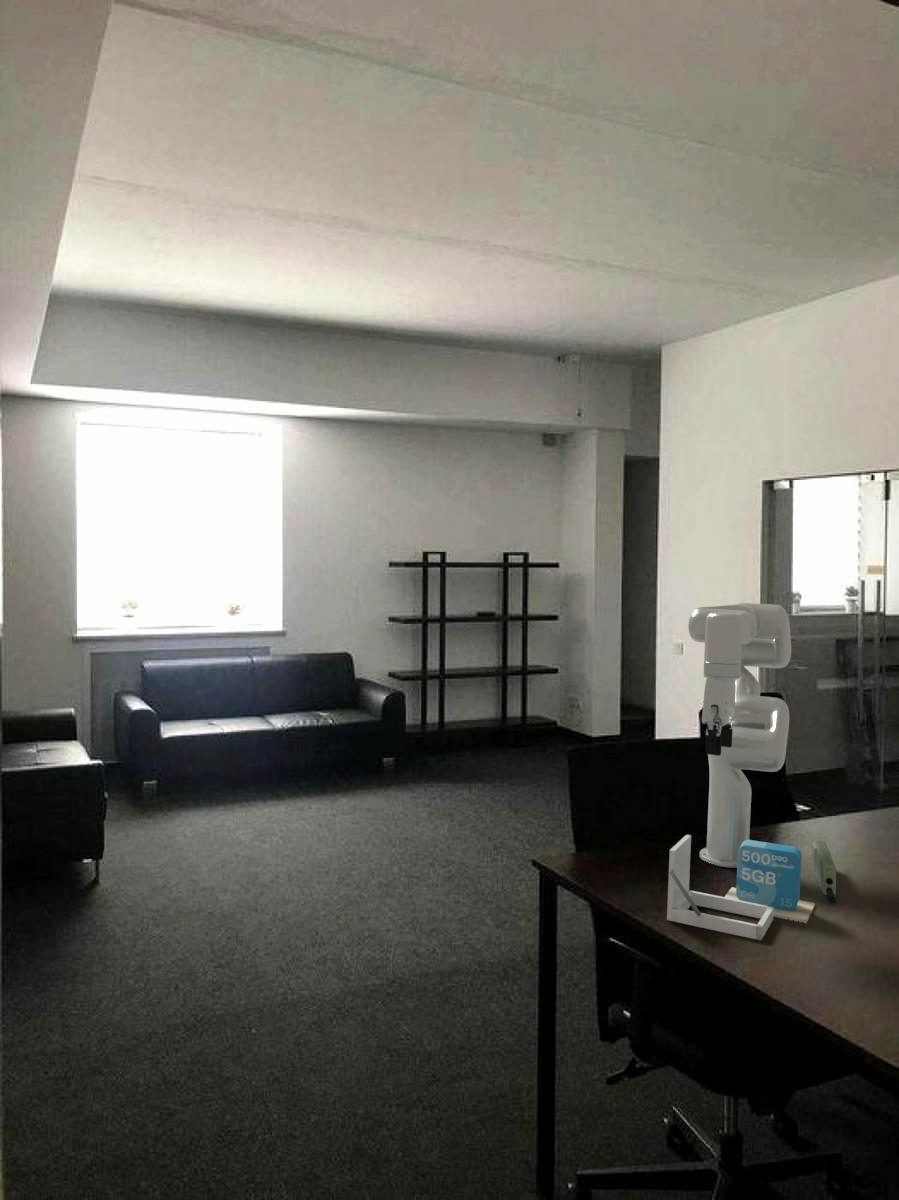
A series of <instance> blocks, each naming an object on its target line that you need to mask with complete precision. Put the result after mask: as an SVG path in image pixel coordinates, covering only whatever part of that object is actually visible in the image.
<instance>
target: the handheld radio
mask: <svg viewBox="0 0 899 1200" xmlns="http://www.w3.org/2000/svg"><path fill="white" fill-rule="evenodd" d="M811 846H812V848H811V849H812V851H811V852H812V855H811V856H812V857H811V858H812V859H811V864H812V867H813V870H814V872H815V874H816V873H817V874H816V876H818V877H817V879H819V880H818V882H820V883H819V885H820V888H821V892H822V894H823V895H825V894H827V895H826V896H827V897H828V900H829V902H830V903H835V902H836V893H837V867H836V865H835V862H834V860H833V858H832V854H831V852H830V850H829V848H828V846H827V843H826V841H825V840H824V839H814V841H813V843H812V844H811Z"/></svg>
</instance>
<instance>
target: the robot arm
mask: <svg viewBox="0 0 899 1200" xmlns="http://www.w3.org/2000/svg"><path fill="white" fill-rule="evenodd" d="M687 628H688V633H689V636H690V638H691V639H692V640H693V641H694V642H695V643H696V642H697V643H704V653H703V658H704V659H703V677H704V678H706V680H705V685H704V691H703V692H704V693H703V703H702V715H701V722H702V724H704V725H706V727H705V728H706V731H705V741H704V742H705V744H704V745H705V747H704V753H705V755H707V757H708V766H709V767H708V768H709V769H708V770H709V773H708V774H709V780H708V781H709V787H708V788H709V791H708V806H707V807H708V809H707V828H706V829H707V833H706V847H704V848H702V849H700V851H699V858H700V859H701V860H702V861H704V862H705V861H706V862H705V863H707V862H708V864H710V863H711V864H710V865H713V864H714V866H717V867H721V868H722V867H724V868H730V869H737V863H738V849H739V848H740V846H741V844H742V843H743V842H744V841H745V840H750V833H751V832H750V826H751V809H752V808H751V807H752V806H751V803H752V786H751V784H750V782H749V780H748V778H747V777H746V775H745V774H744V772H743V771H742V770H750V771H758V772H759V771H760V772H769V773H770V772H771V773H774V772H775V773H776V772H778V771H779V770H781V769H782V767H783V766H784V763H785V759H786V755H787V754H786V753H787V746H788V737H789V736H788V735H789V727H790V711H789V706H788V704H787V703H786V702H785V700H783V699H781V698H780V697H774V696H773V697H772V696H765V695H764V696H763V695H761V690H762V689H761V685H760V682H759V681H758V680H757V678H756V676H755V675H754V674H752V672H751V671H750V670H748V669H747V668H746V667H752V668H766V669H768V668H769V669H782V668H785V667H787V666H788V664H789V663H790V661H791V657H792V639H791V625H790V619H789V616H788V613H787V610H786V609H785V608H784V607H783V606H782V605H780V604H774V603H773V604H772V603H770V604H769V603H751V602H741V603H736V604H726V605H718V606H701V607H696V608H694V610H693V611H692V612H691V614H690V616H689V620H688V627H687Z"/></svg>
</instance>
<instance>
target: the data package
mask: <svg viewBox="0 0 899 1200" xmlns="http://www.w3.org/2000/svg"><path fill="white" fill-rule="evenodd" d="M801 868H802V852H801V850H800V849H799V848H798V847H797V846H791V845H785V844H779V843H773V842H772V843H771V842H766V841H758V840H754V839H753V840H752V839H749V840H745V841H744V842H743V843H742V844H741V846H740V848H739V849H738V863H737V868H736V887H735V888H736V895H737V898H738V899H739V900H741V901H746V902H751V903H756V904H761V905H766V906H771V907H774V908H779V909H785V910H793V909H795V908H796V907H797V904H798V901H799V900H800V896H801V893H800V892H801V873H802V869H801Z"/></svg>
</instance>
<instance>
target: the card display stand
mask: <svg viewBox="0 0 899 1200" xmlns="http://www.w3.org/2000/svg"><path fill="white" fill-rule="evenodd" d="M691 843H692V835H691V834H686V835H684V836H683V837H682V838H681V839H680V840H679V841H678V842H677V843H676V844H675V845H673V846H672V847H671V848H670V849H669V854H668V855H669V858H668V859H669V860H668V882H667V883H668V885H667V908H666V920H667V921H670V922H675V923H679V924H683V925H688V926H693V927H698V928H703V929H707V930H711V931H714V932H715V931H717V932H720V933H724V934H730V935H734V936H739V937H743V938H748V939H752V940H758V941H762V939H763V938H764V937H765V935H766V932H767V931H768V929H769V928H770V926H771V924H772V922H773V921H774V907H771V906H766V905H761V904H756V903H751V902H746V901H741V900H736V899H731V898H726V897H725V896H721V895H716V894H710V893H706V892H705V893H704V892H701V891H695V890H690V876H691V875H690V874H691V873H690V870H691V852H692V851H691V846H692V844H691ZM697 906H698V907H703V908H708V909H713V910H717V911H723V912H727V913H731V914H737V915H741V916H746V917H751V918H756V919H759V921H758V923H757V924H756V923H752V922H748V921H742V920H738V919H732V918H727V917H724V916H719V915H713V914H708V913H704V912H701V911H700V909H698V907H697ZM690 907H691V908H692V910H689V909H690Z"/></svg>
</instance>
